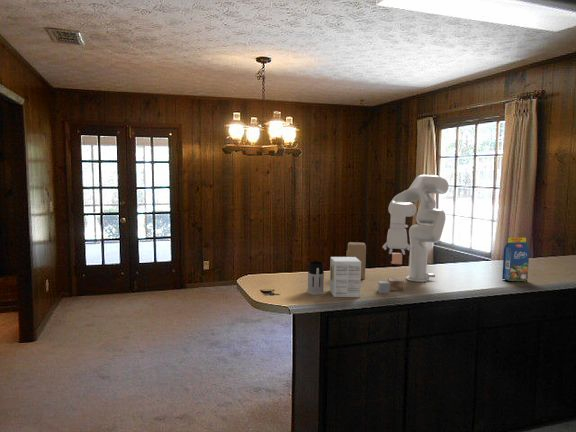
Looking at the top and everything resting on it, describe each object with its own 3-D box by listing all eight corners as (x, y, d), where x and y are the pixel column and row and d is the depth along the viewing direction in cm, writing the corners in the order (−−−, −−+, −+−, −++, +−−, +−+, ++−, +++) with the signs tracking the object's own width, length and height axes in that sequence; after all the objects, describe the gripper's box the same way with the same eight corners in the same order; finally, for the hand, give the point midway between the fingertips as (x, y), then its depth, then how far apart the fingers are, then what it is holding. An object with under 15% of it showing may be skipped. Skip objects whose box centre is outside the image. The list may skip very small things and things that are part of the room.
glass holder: (323, 290, 228) (323, 261, 227) (326, 297, 214) (327, 266, 213) (306, 290, 228) (306, 260, 227) (308, 297, 214) (308, 266, 213)
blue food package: (527, 281, 256) (530, 238, 254) (509, 282, 254) (512, 238, 252) (519, 279, 263) (522, 236, 261) (501, 280, 260) (504, 237, 258)
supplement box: (329, 290, 228) (329, 256, 227) (354, 290, 229) (355, 256, 227) (333, 297, 215) (334, 261, 213) (360, 297, 216) (361, 261, 214)
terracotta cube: (400, 262, 235) (400, 253, 235) (401, 264, 230) (402, 254, 230) (390, 262, 236) (391, 252, 235) (392, 263, 231) (392, 254, 231)
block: (363, 276, 264) (364, 242, 263) (365, 279, 254) (366, 244, 253) (346, 275, 265) (347, 241, 264) (347, 279, 255) (348, 244, 254)
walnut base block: (401, 287, 238) (401, 278, 237) (403, 290, 231) (403, 281, 230) (387, 287, 238) (388, 277, 238) (389, 290, 231) (389, 280, 231)
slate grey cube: (388, 291, 229) (388, 281, 229) (389, 293, 224) (389, 283, 224) (378, 290, 230) (378, 281, 229) (379, 293, 225) (379, 283, 224)
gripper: (413, 226, 235) (411, 261, 236) (380, 225, 236) (378, 259, 238) (415, 228, 227) (414, 263, 229) (381, 227, 229) (380, 262, 230)
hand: (396, 261), depth 233 cm, fingers closed on terracotta cube, 5 cm apart
